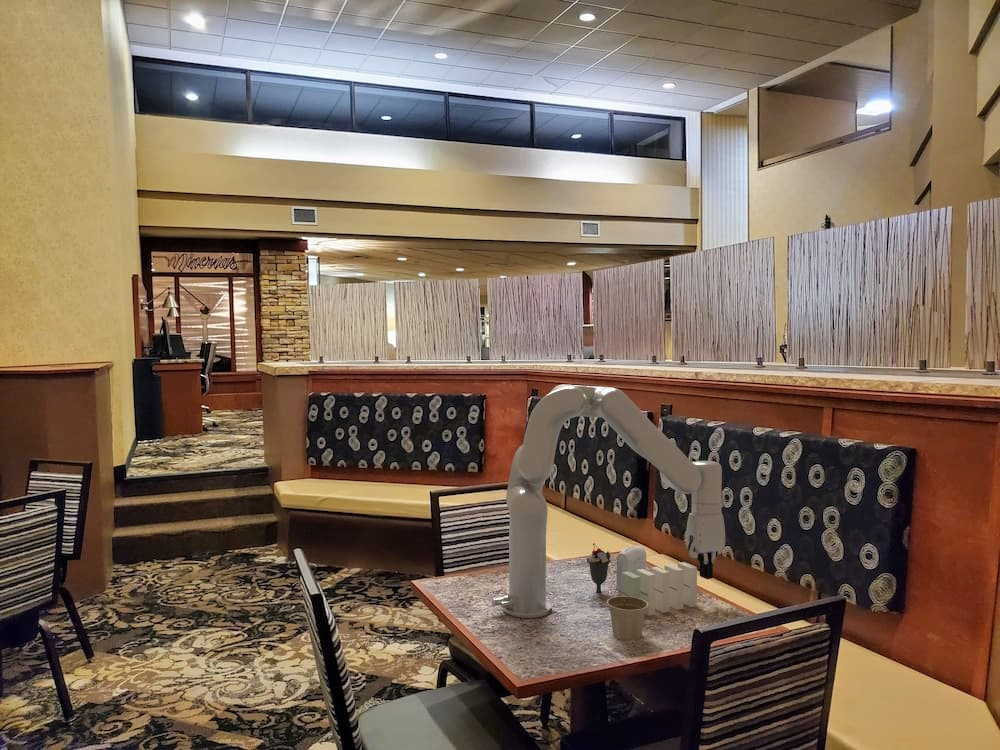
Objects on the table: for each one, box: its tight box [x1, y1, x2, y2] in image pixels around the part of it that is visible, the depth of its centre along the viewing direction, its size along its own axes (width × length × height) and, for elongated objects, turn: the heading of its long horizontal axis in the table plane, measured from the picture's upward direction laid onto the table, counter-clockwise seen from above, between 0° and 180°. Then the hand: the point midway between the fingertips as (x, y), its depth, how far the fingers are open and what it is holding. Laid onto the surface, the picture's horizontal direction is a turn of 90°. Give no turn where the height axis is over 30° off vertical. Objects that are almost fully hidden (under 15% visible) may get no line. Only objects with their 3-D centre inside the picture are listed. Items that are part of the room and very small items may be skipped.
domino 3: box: [663, 563, 683, 610], centre depth 174 cm, size 2×5×10 cm, turn 26°
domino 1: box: [636, 569, 655, 616], centre depth 170 cm, size 2×5×10 cm, turn 26°
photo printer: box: [616, 545, 647, 592], centre depth 189 cm, size 10×4×12 cm, turn 134°
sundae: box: [586, 542, 612, 595], centre depth 184 cm, size 7×7×15 cm
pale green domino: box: [620, 571, 640, 598], centre depth 168 cm, size 2×5×10 cm, turn 26°
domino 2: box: [649, 566, 669, 613], centre depth 172 cm, size 2×5×10 cm, turn 26°
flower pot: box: [606, 595, 648, 642], centre depth 155 cm, size 9×9×9 cm
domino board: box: [644, 603, 706, 621], centre depth 172 cm, size 23×9×1 cm, turn 116°
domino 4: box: [677, 561, 698, 607], centre depth 176 cm, size 2×5×10 cm, turn 26°
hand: (706, 577), depth 178 cm, fingers closed
